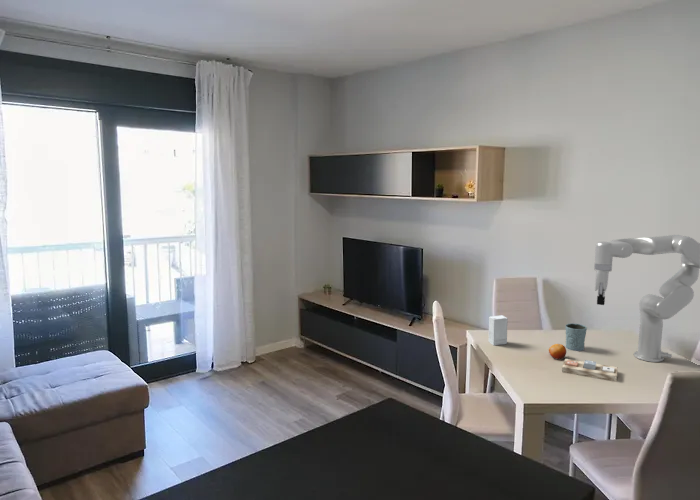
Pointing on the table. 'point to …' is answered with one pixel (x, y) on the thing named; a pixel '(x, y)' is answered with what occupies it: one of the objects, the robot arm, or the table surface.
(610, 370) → the key
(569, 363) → the key
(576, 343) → the grey-blue cup
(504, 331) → the skincare box
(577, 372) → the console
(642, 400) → the table surface
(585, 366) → the key
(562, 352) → the fruit
